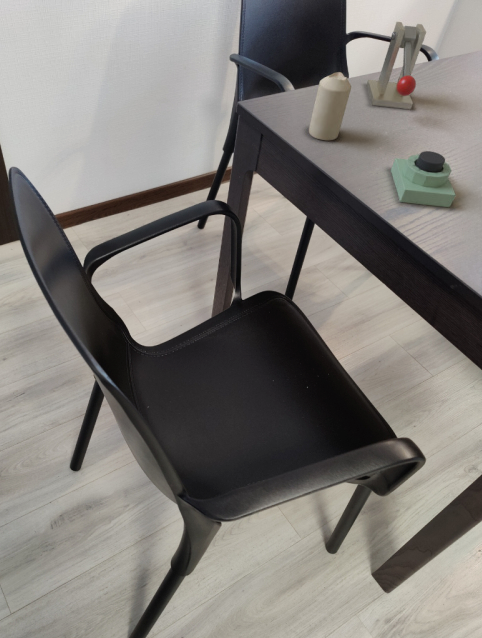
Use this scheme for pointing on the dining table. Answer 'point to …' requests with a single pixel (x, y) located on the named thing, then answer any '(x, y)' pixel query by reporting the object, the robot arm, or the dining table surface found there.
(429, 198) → the button box
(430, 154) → the button
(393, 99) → the bracket
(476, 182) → the dining table surface
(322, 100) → the candle
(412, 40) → the lever
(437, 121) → the dining table surface
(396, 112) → the dining table surface
